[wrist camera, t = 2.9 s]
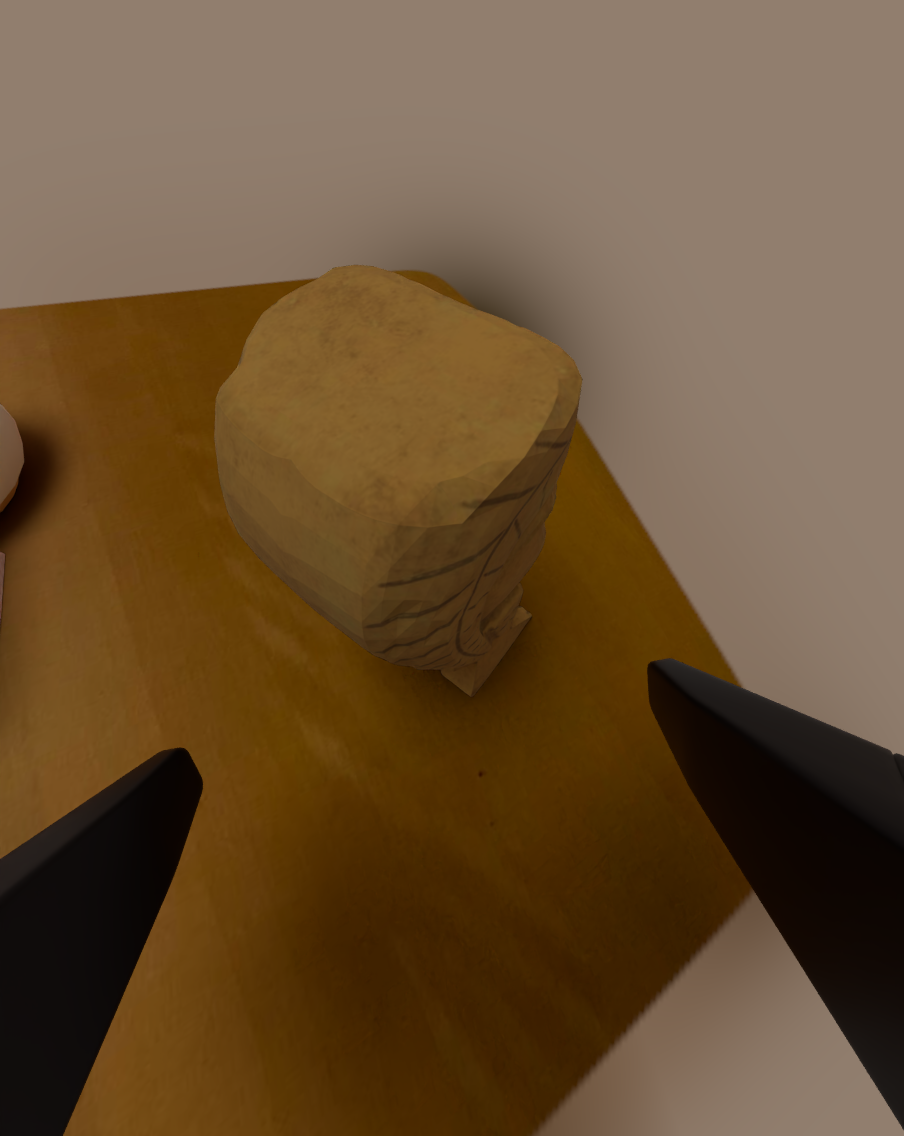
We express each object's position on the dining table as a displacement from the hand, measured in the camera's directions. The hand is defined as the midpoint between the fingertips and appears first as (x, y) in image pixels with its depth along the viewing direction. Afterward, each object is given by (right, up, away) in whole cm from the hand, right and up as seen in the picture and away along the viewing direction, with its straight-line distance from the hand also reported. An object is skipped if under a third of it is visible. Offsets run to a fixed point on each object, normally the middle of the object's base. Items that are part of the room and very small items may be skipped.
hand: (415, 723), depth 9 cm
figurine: (+1, 0, +13) cm, 13 cm away
